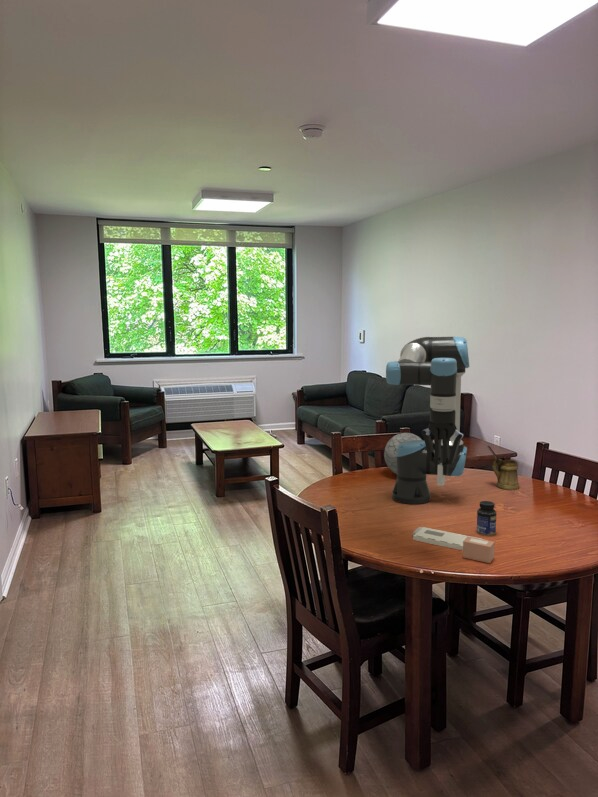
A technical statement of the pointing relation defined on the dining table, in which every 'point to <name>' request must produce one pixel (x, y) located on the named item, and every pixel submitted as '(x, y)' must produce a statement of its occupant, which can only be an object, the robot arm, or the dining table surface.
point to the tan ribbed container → (505, 473)
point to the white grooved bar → (441, 538)
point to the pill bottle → (486, 518)
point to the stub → (478, 549)
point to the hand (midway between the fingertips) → (441, 484)
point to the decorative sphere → (392, 446)
